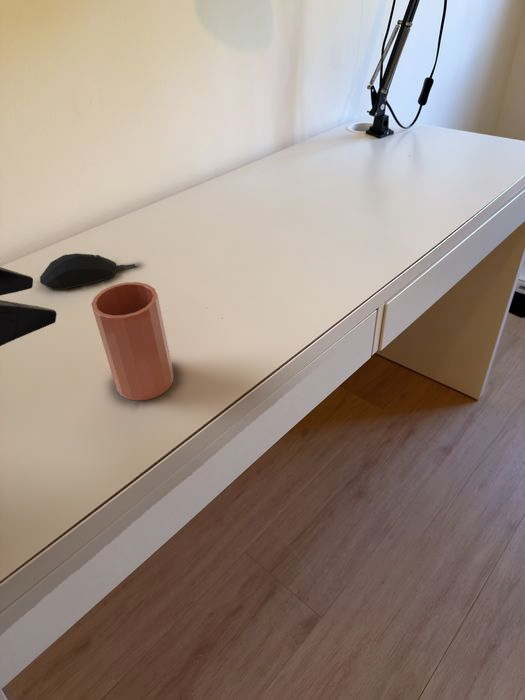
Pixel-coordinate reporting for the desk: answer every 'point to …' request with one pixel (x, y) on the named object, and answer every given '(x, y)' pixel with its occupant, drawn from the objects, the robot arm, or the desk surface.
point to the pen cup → (134, 339)
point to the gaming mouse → (78, 270)
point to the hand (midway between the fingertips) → (43, 298)
